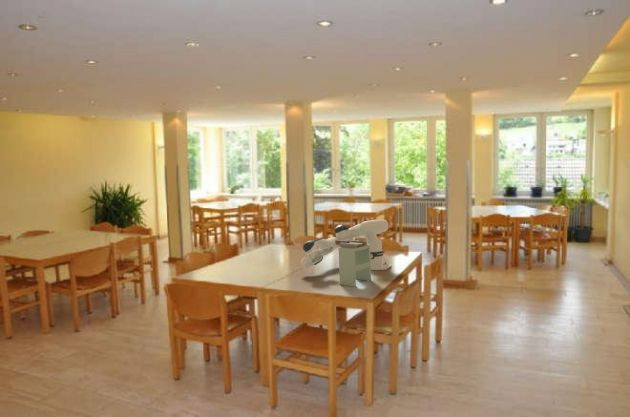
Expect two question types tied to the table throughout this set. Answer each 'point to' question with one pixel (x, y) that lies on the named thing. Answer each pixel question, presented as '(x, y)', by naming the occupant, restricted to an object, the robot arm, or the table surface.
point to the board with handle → (348, 242)
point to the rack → (354, 262)
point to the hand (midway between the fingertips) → (328, 248)
